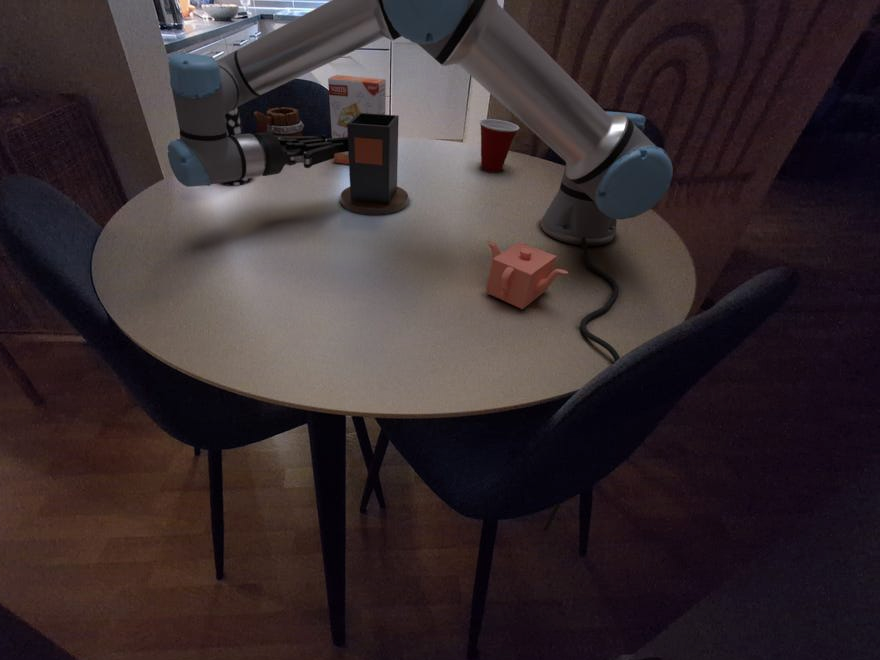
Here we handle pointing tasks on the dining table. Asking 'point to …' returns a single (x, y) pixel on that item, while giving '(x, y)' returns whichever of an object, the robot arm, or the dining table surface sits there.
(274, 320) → the dining table surface
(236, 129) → the spotted tube
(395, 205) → the disc
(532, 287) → the teapot
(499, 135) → the plastic cup
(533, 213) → the dining table surface
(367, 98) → the cracker box
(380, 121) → the bin
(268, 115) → the mug
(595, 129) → the robot arm
